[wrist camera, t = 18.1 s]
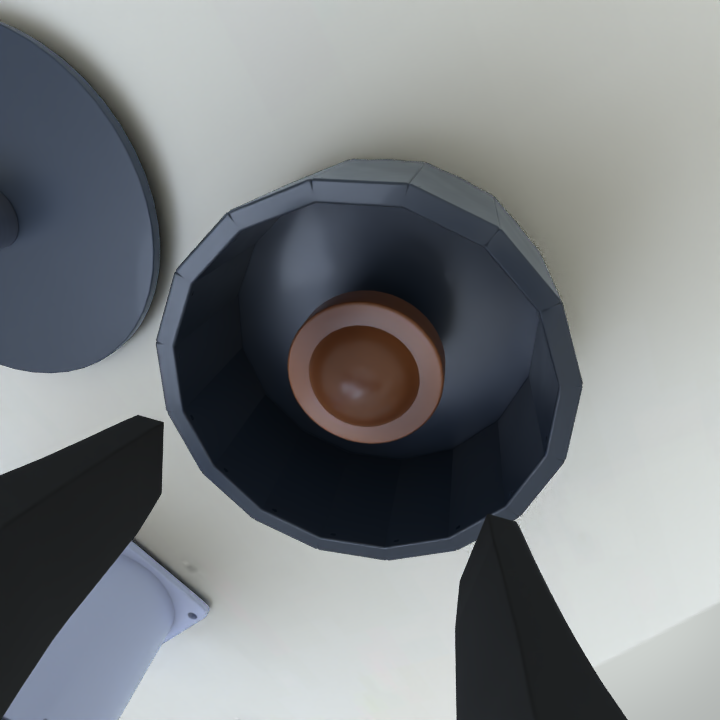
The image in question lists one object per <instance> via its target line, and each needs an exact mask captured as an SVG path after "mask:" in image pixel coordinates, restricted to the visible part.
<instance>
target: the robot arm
mask: <svg viewBox="0 0 720 720" xmlns="http://www.w3.org/2000/svg"><path fill="white" fill-rule="evenodd" d="M163 429H164V422H161V421H157V420H154V419H150V418H147V417H143V416H139V415H137V416H135V417H132V418H130V419H127V420H125V421H123V422H121V423H118V424H116V425H114V426H112V427H110V428H107V429H105V430H103V431H101V432H99V433H97V434H95V435H92V436H90V437H88V438H86V439H84V440H82V441H79V442H77V443H75V444H73V445H71V446H68V447H66V448H64V449H62V450H59V451H57V452H55V453H53V454H51V455H48V456H46V457H44V458H42V459H39V460H37V461H34V462H32V463H29V464H27V465H24V466H22V467H19V468H17V469H15V470H12V471H10V472H7V473H5V474H2V475H0V720H119V718H120V716H121V714H122V713H123V711H124V709H125V707H126V706H127V704H128V702H129V700H130V699H131V697H132V695H133V694H134V692H135V690H136V688H137V687H138V685H139V683H140V681H141V680H142V678H143V676H144V674H145V673H146V671H147V669H148V667H149V666H150V664H151V662H152V660H153V659H154V657H155V655H156V653H157V652H158V650H159V648H160V646H161V645H162V644H163V643H165V642H166V641H168V640H170V639H171V638H173V637H174V636H176V635H178V634H179V633H181V632H183V631H184V630H186V629H187V628H189V627H191V626H192V625H194V624H195V623H197V622H199V621H200V620H202V619H204V618H205V617H206V616H207V614H208V612H209V606H208V605H207V604H206V603H205V602H204V601H203V600H202V599H201V598H199V597H198V596H197V595H196V594H195V593H193V592H192V591H191V590H190V589H189V588H187V587H186V586H185V585H184V584H183V583H181V582H180V581H179V580H178V579H177V578H175V577H174V576H173V575H172V574H171V573H170V572H168V571H167V570H166V569H165V568H164V567H162V566H161V565H160V564H159V563H158V562H156V561H155V560H154V559H153V558H152V557H150V556H149V555H148V554H147V553H146V552H145V551H143V550H142V549H141V548H140V547H139V546H137V545H136V544H135V543H134V542H133V541H132V539H133V538H134V537H135V535H136V534H137V533H138V531H139V530H140V528H141V527H142V525H143V523H144V522H145V520H146V519H147V517H148V515H149V514H150V512H151V510H152V509H153V507H154V505H155V504H156V502H157V500H158V499H159V497H160V495H161V494H162V462H163ZM455 653H456V710H457V720H627V718H626V717H625V715H624V714H623V712H622V711H621V709H620V708H619V707H618V705H617V704H616V702H615V701H614V699H613V698H612V696H611V695H610V693H609V692H608V691H607V689H606V688H605V686H604V685H603V683H602V682H601V680H600V679H599V677H598V675H597V674H596V672H595V670H594V669H593V667H592V666H591V664H590V662H589V661H588V659H587V657H586V656H585V654H584V652H583V650H582V649H581V647H580V645H579V644H578V642H577V640H576V639H575V637H574V635H573V633H572V631H571V630H570V628H569V626H568V624H567V623H566V621H565V619H564V617H563V615H562V613H561V611H560V609H559V608H558V606H557V604H556V602H555V600H554V598H553V596H552V594H551V592H550V590H549V588H548V586H547V584H546V582H545V580H544V578H543V576H542V574H541V572H540V570H539V568H538V566H537V564H536V562H535V560H534V558H533V556H532V553H531V551H530V549H529V547H528V545H527V543H526V540H525V538H524V536H523V534H522V532H521V530H520V527H519V526H518V524H517V522H515V521H512V520H508V519H505V518H501V517H498V516H494V515H491V514H487V515H486V518H485V520H484V523H483V525H482V528H481V530H480V533H479V535H478V538H477V540H476V543H475V545H474V548H473V550H472V552H471V555H470V557H469V560H468V562H467V565H466V567H465V570H464V572H463V575H462V577H461V580H460V585H459V595H458V604H457V615H456V626H455Z"/></svg>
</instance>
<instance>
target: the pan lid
mask: <svg viewBox="0 0 720 720" xmlns="http://www.w3.org/2000/svg"><path fill="white" fill-rule="evenodd" d="M159 268H160V237H159V224H158V219H157V214H156V209H155V204H154V200H153V196H152V193H151V190H150V187H149V184H148V181H147V177H146V174H145V172H144V170H143V168H142V165H141V163H140V161H139V158H138V156H137V154H136V152H135V149H134V148H133V146H132V144H131V142H130V141H129V139H128V137H127V135H126V133H125V132H124V130H123V128H122V126H121V125H120V123H119V122H118V120H117V119H116V118H115V116H114V115H113V113H112V112H111V110H110V109H109V108H108V106H107V105H106V103H105V102H104V101H103V99H102V98H101V97H100V96H99V95H98V94H97V93H96V91H95V90H94V89H93V88H92V87H91V86H90V85H89V83H88V82H87V81H86V80H85V79H84V78H83V77H82V76H81V75H80V74H79V73H78V72H77V71H76V70H74V69H73V68H72V67H71V66H70V65H69V64H68V63H67V62H66V61H65V60H64V59H62V58H61V57H60V56H58V55H57V54H56V53H54V52H53V51H52V50H50V49H49V48H48V47H46V46H45V45H44V44H42V43H41V42H40V41H38V40H36V39H34V38H33V37H31V36H29V35H27V34H26V33H24V32H22V31H20V30H19V29H17V28H15V27H12V26H10V25H7V24H5V23H3V22H0V365H3V366H7V367H10V368H13V369H18V370H23V371H29V372H38V373H58V372H69V371H73V370H77V369H81V368H85V367H87V366H90V365H92V364H94V363H97V362H99V361H101V360H102V359H104V358H106V357H107V356H109V355H110V354H112V353H113V352H115V351H116V350H118V349H119V348H120V347H121V346H122V345H123V344H124V343H125V342H127V341H128V340H129V339H130V338H131V337H132V335H133V334H134V333H135V331H136V330H137V329H138V327H139V326H140V325H141V323H142V321H143V320H144V318H145V316H146V314H147V312H148V310H149V308H150V305H151V302H152V299H153V296H154V293H155V290H156V286H157V280H158V275H159Z"/></svg>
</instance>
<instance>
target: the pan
mask: <svg viewBox="0 0 720 720" xmlns="http://www.w3.org/2000/svg"><path fill="white" fill-rule="evenodd" d="M360 290H366V291H378V292H383V293H387V294H391V295H394V296H396V297H398V298H401V299H403V300H405V301H406V302H408V303H410V304H411V305H413V306H414V307H416V308H417V309H418V310H419V311H421V312H422V313H423V314H424V315H425V316H426V317H427V318H428V320H429V321H430V322H431V324H432V325H433V326H434V328H435V330H436V331H437V333H438V335H439V337H440V339H441V342H442V345H443V349H444V352H445V361H446V364H445V379H444V387H443V393H442V396H441V399H440V402H439V404H438V406H437V408H436V410H435V412H434V413H433V415H432V416H431V417H430V419H429V420H428V421H427V422H426V423H425V424H424V425H423V426H421V427H420V428H419V429H418V430H416V431H415V432H413V433H411V434H410V435H408V436H406V437H403V438H401V439H398V440H395V441H391V442H386V443H376V444H368V443H359V442H353V441H349V440H346V439H343V438H340V437H338V436H336V435H333V434H332V433H330V432H328V431H326V430H325V429H323V428H322V427H320V426H319V425H317V424H316V423H315V422H314V421H313V420H312V419H311V418H310V417H309V416H308V415H307V414H306V413H305V412H304V410H303V409H302V408H301V406H300V405H299V403H298V402H297V400H296V398H295V396H294V394H293V391H292V389H291V386H290V382H289V377H288V369H287V367H288V355H289V350H290V347H291V344H292V341H293V339H294V337H295V335H296V333H297V332H298V330H299V329H300V328H301V326H302V325H303V324H304V322H305V321H306V320H307V318H308V317H309V316H310V314H311V313H312V312H313V311H314V310H315V309H316V308H317V307H319V306H320V305H321V304H323V303H324V302H325V301H327V300H329V299H331V298H333V297H335V296H338V295H340V294H343V293H347V292H352V291H360ZM156 341H157V342H156V347H157V354H158V360H159V366H160V373H161V379H162V385H163V392H164V398H165V404H166V410H167V411H168V414H169V416H170V418H171V420H172V421H173V423H174V425H175V427H176V428H177V430H178V432H179V434H180V435H181V437H182V439H183V441H184V442H185V444H186V446H187V448H188V449H189V451H190V453H191V455H192V456H193V458H194V460H195V462H196V463H197V465H198V467H199V469H200V470H201V471H202V473H203V474H204V475H205V476H206V477H207V478H208V479H209V480H211V481H212V482H213V483H214V484H215V485H216V486H217V487H218V488H219V489H221V490H222V491H223V492H224V493H225V494H226V495H227V496H228V497H229V498H231V499H232V500H233V501H234V502H235V503H236V504H237V505H238V506H239V507H241V508H242V509H243V510H244V511H245V512H246V513H247V514H248V515H249V516H250V517H252V518H253V519H254V518H255V520H257V521H259V522H261V523H263V524H265V525H267V526H269V527H271V528H273V529H275V530H278V531H280V532H282V533H284V534H286V535H288V536H290V537H292V538H294V539H296V540H299V541H301V542H303V543H305V544H307V545H309V546H311V547H313V548H315V549H317V548H318V549H319V550H324V551H330V552H337V553H343V554H349V555H355V556H362V557H368V558H374V559H380V560H395V559H402V558H409V557H416V556H423V555H430V554H437V553H443V552H450V551H456V550H459V549H461V548H463V547H465V546H466V545H468V544H470V543H472V542H474V541H476V540H477V538H478V535H479V533H480V530H481V528H482V525H483V523H484V520H485V518H486V515H487V514H491V515H494V516H498V517H501V518H505V519H508V520H512V521H513V520H515V519H517V518H518V517H519V516H521V515H522V514H523V512H524V511H525V510H526V509H527V508H528V506H529V505H530V504H531V503H532V501H533V500H534V499H535V498H536V496H537V495H538V494H539V493H540V491H541V490H542V489H543V488H544V487H545V485H546V484H547V483H548V482H549V480H550V479H551V478H552V477H553V475H554V474H555V473H556V472H557V470H558V469H559V468H560V467H561V466H562V464H563V463H564V461H565V459H566V457H567V452H568V448H569V444H570V439H571V435H572V431H573V426H574V422H575V417H576V413H577V409H578V404H579V400H580V396H581V391H582V384H583V382H582V378H581V374H580V370H579V366H578V362H577V358H576V354H575V350H574V346H573V342H572V338H571V334H570V330H569V326H568V322H567V319H566V315H565V311H564V307H563V303H562V301H561V298H560V296H559V294H558V292H557V289H556V287H555V285H554V283H553V280H552V278H551V276H550V274H549V271H548V269H547V267H546V265H545V262H544V260H543V258H542V256H541V254H540V252H539V250H538V249H537V248H536V246H535V245H534V244H533V243H532V242H531V240H530V239H529V238H528V237H527V236H526V234H525V233H524V232H523V230H522V229H521V228H520V226H519V225H518V223H517V222H516V221H515V220H514V219H513V218H512V217H511V216H510V215H509V214H508V212H507V211H506V210H505V209H504V208H503V206H502V205H501V204H500V203H499V202H498V200H497V199H496V198H495V197H493V196H492V195H491V194H489V193H487V192H485V191H483V190H481V189H479V188H477V187H476V186H474V185H472V184H471V183H469V182H467V181H466V180H464V179H462V178H460V177H458V176H456V175H453V174H451V173H448V172H446V171H444V170H441V169H439V168H437V167H435V166H433V165H431V164H429V163H424V162H414V161H402V160H393V159H377V160H366V159H352V160H347V161H344V162H342V163H339V164H337V165H334V166H332V167H329V168H327V169H324V170H322V171H319V172H317V173H315V174H312V175H310V176H307V177H305V178H302V179H300V180H297V181H295V182H292V183H290V184H287V185H285V186H283V187H281V188H279V189H276V190H274V191H272V192H270V193H267V194H265V195H263V196H261V197H259V198H256V199H254V200H252V201H250V202H247V203H245V204H243V205H241V206H238V207H236V208H234V209H232V210H230V211H229V212H228V213H226V214H225V215H224V216H223V217H222V218H221V220H220V221H219V222H218V223H217V224H216V225H215V226H214V227H213V229H212V230H211V231H210V232H209V233H208V234H207V235H206V236H205V238H204V239H203V240H202V241H201V242H200V243H199V244H198V245H197V247H196V248H195V249H194V250H193V251H192V252H191V253H190V254H189V256H188V257H187V258H186V259H185V260H184V261H183V262H182V263H181V265H180V266H179V267H178V268H177V269H176V272H175V273H174V277H173V280H172V284H171V288H170V291H169V295H168V299H167V302H166V306H165V310H164V313H163V317H162V321H161V324H160V328H159V332H158V336H157V339H156Z"/></svg>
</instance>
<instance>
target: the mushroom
mask: <svg viewBox="0 0 720 720" xmlns="http://www.w3.org/2000/svg"><path fill="white" fill-rule="evenodd" d="M445 364H446V361H445V352H444V349H443V345H442V342H441V339H440V337H439V335H438V333H437V331H436V330H435V328H434V326H433V325H432V324H431V322H430V321H429V320H428V318H427V317H426V316H425V315H424V314H423V313H422V312H421V311H419V310H418V309H417V308H416V307H414V306H413V305H411V304H410V303H408V302H406V301H405V300H403V299H401V298H398V297H396V296H394V295H391V294H387V293H383V292H378V291H366V290H360V291H352V292H347V293H343V294H340V295H338V296H335V297H333V298H331V299H329V300H327V301H325V302H324V303H323V304H321V305H320V306H319V307H317V308H316V309H315V310H314V311H313V312H312V313H311V314H310V316H309V317H308V318H307V320H306V321H305V322H304V324H303V325H302V326H301V328H300V329H299V330H298V332H297V333H296V335H295V337H294V339H293V341H292V344H291V347H290V350H289V355H288V367H287V369H288V377H289V382H290V386H291V389H292V391H293V394H294V396H295V398H296V400H297V402H298V403H299V405H300V406H301V408H302V409H303V410H304V412H305V413H306V414H307V415H308V416H309V417H310V418H311V419H312V420H313V421H314V422H315V423H316V424H317V425H319V426H320V427H322V428H323V429H325V430H326V431H328V432H330V433H332V434H333V435H336V436H338V437H340V438H343V439H346V440H349V441H353V442H359V443H368V444H376V443H386V442H391V441H395V440H398V439H401V438H403V437H406V436H408V435H410V434H411V433H413V432H415V431H416V430H418V429H419V428H420V427H421V426H423V425H424V424H425V423H426V422H427V421H428V420H429V419H430V417H431V416H432V415H433V413H434V412H435V410H436V408H437V406H438V404H439V402H440V399H441V396H442V393H443V387H444V379H445Z"/></svg>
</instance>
